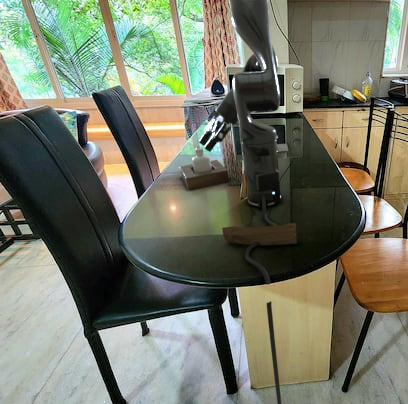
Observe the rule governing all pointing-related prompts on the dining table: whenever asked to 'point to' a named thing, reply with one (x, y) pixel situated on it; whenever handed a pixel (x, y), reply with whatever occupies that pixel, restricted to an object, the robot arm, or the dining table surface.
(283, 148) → the platform
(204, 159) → the eye dropper bottle
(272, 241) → the wood plank
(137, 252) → the dining table surface
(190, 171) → the stand
